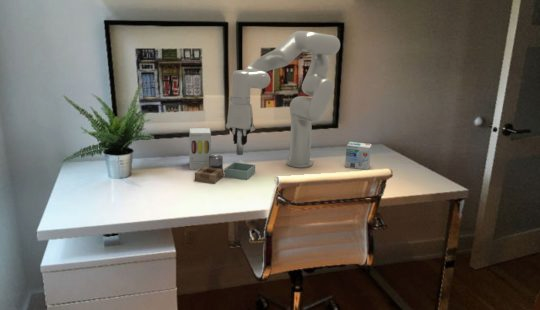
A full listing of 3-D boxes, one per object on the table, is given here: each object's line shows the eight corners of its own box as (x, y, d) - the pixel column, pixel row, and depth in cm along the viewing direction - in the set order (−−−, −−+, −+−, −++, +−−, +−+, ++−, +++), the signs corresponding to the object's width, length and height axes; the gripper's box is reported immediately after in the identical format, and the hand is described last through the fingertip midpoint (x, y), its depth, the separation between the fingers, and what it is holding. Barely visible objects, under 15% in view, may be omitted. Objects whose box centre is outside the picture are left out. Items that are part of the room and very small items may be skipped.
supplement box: (189, 169, 209) (189, 132, 204) (189, 163, 218) (188, 127, 213) (211, 169, 211) (211, 132, 206) (210, 162, 220) (209, 127, 215)
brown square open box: (204, 174, 204) (204, 166, 203) (223, 176, 201) (223, 169, 200) (194, 180, 196) (194, 172, 195) (214, 183, 193) (214, 175, 192)
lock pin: (237, 152, 204) (238, 122, 200) (245, 153, 203) (245, 123, 199) (234, 154, 201) (234, 124, 197) (242, 155, 200) (242, 125, 196)
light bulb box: (344, 167, 219) (346, 144, 216) (347, 163, 226) (348, 141, 222) (367, 170, 216) (369, 147, 213) (369, 166, 222) (371, 143, 219)
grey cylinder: (212, 169, 211) (212, 152, 208) (224, 171, 209) (224, 154, 207) (206, 173, 205) (206, 156, 203) (219, 175, 203) (219, 157, 201)
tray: (233, 169, 211) (233, 162, 210) (255, 172, 208) (255, 164, 207) (224, 176, 202) (224, 168, 201) (247, 179, 199) (247, 171, 198)
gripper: (219, 100, 194) (218, 143, 200) (256, 104, 190) (255, 148, 195) (226, 97, 201) (225, 139, 206) (262, 101, 197) (261, 143, 202)
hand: (240, 143), depth 201 cm, fingers closed on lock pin, 3 cm apart
